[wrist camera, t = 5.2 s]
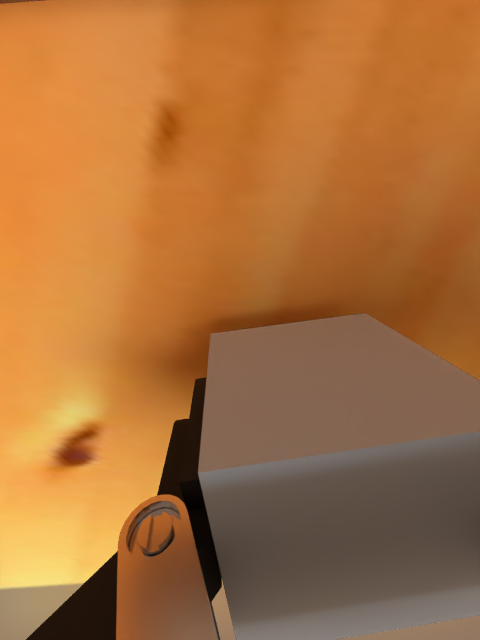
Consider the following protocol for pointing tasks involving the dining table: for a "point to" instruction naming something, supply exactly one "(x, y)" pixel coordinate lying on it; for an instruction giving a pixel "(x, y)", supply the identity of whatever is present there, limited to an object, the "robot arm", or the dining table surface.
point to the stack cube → (340, 480)
